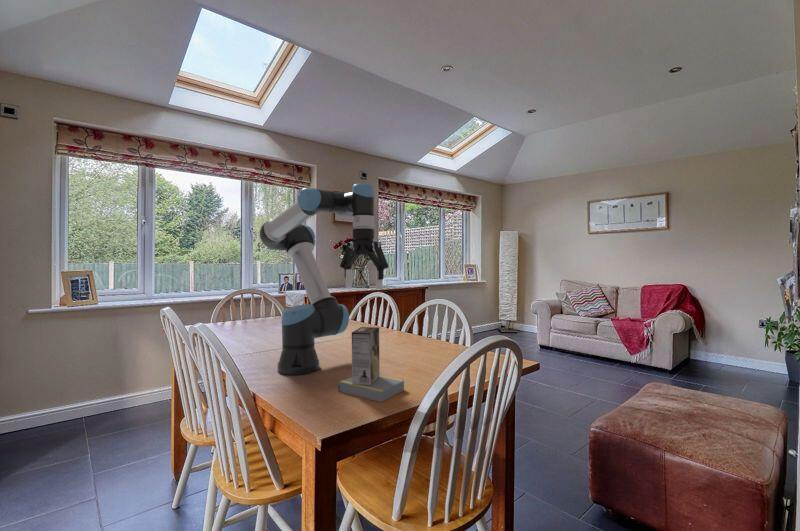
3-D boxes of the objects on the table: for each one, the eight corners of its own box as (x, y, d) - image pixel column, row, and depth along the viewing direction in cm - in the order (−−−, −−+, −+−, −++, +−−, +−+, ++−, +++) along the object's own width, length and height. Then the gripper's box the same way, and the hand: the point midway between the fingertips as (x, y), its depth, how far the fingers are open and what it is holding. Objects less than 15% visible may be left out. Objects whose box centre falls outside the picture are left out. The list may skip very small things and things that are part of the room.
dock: (337, 390, 120) (337, 381, 120) (362, 380, 130) (362, 371, 130) (381, 402, 110) (381, 391, 110) (404, 390, 120) (404, 380, 120)
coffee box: (361, 374, 126) (361, 326, 125) (380, 376, 124) (379, 327, 124) (351, 384, 117) (351, 331, 116) (371, 385, 115) (371, 332, 115)
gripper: (330, 229, 139) (330, 287, 140) (385, 226, 125) (385, 290, 126) (344, 230, 145) (344, 285, 146) (398, 227, 131) (398, 289, 132)
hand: (363, 288), depth 136 cm, fingers open, 13 cm apart
